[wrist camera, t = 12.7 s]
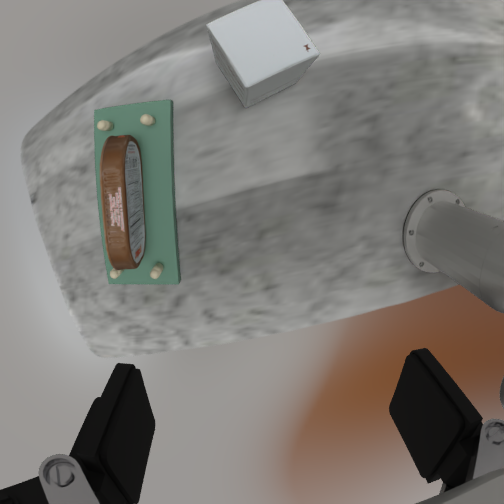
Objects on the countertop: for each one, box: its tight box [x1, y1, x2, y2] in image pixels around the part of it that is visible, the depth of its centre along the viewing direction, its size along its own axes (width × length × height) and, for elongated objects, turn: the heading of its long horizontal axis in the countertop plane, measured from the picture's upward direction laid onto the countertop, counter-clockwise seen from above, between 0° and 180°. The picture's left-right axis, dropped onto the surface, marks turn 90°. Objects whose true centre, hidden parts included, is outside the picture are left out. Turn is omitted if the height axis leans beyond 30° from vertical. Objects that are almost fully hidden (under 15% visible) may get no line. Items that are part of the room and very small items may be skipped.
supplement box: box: [206, 0, 320, 108], centre depth 27 cm, size 7×7×13 cm
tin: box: [100, 135, 146, 270], centre depth 31 cm, size 15×3×8 cm, turn 0°
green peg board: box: [94, 100, 181, 284], centre depth 35 cm, size 10×23×5 cm, turn 0°
